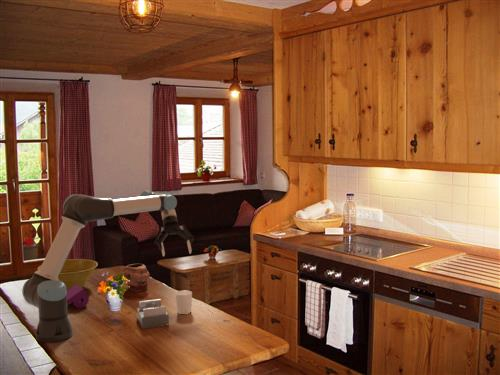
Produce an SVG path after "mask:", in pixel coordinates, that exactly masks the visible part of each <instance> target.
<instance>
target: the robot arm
mask: <svg viewBox="0 0 500 375" xmlns="http://www.w3.org/2000/svg"><path fill="white" fill-rule="evenodd" d="M177 204H178V200H177V198H176V197H175V196H174V195H172V194H171V193H169V192H163V193H160V192H159V193H158V192H153V191H151V190H143V191H142V192H141V194H140V196H135V197H126V198H116V199H115V198H114V199H112V198H111V197H95V196H91V195H88V194H87V195H86V194H83V193H82V194H81V193H78V194H75V193H74V194H72V195H69V196H67V198H65V200H64V202H63V204H62V210H63V213H62V215H61V220H62V223H61V225H60V227H59V229H58V231H57V232H56V235H55V237H54V238H53V239H54V240H53V241H52V243H51V246H50V247H49V248H48V249H49V250H48V251H47V254H46V256H45V258H44V260H43V262H42V264H41V265H42V266H41V265H40V266H41V268H40V270H38V269H37V270H36V271H34V272H33V274H32V277H31V278H28V279H27V280H26V281H25V282H24V284H23V286H22V289H21V290H22V291H21V292H22V294H21V295H22V296H23V298H24V300H25V301H26V302H27V303H28V304H30V305H32V306H34V307H36V308H38V324H37V327H36V331H35V339H36V341H37V342H40V343H57V342H61V341H64V340H67V339H69V338H70V337H72V336H73V332H74V331H73V327H72V324H71V321H70V319H69V314H68V305H67V290H66V286H65V284H64V283H63V282H61V281H59V279H58V275H59V273H60V271H61V269H62V267H63V265H64V262H65V260H67V259H68V256H69V254H70V252H71V249H72V248H73V245H74V243H75V241H76V240H77V237H78V235H79V233H80V231H81V229H83V228H85V227H86V226H87V224H88V222H96V221H102V220H108V219H109V220H110V219H112V218H114V216H120V215H121V216H123V215H130V214H138V213H145V212H146V213H147V212H154V211H160V213H161V219H162V223H163V226H161V225H160V226H158V229H157V230H158V232H157V233H156V234H157V235H156V237H155V239H154V245H157V246H158V250H159V251H161V254H162V257H165V255H166V252H165V247H164V243H163V242H164V240H165V239H166V238H167V237H168V235H169V236H172V235H173V236H174V235H175V236H176V235H177V236H180V237H181V238H182V239H184V241H186V244H187V249H188V252H189V254H192V246H193V242H194V239H195V236H194V235H193V233H191V232H190V230H188V228H187V227H186V225H185V224H184V223H183V224H182V225H179V222H178V217H177V213H176V209H175V208H176V207H177V206H178V205H177ZM163 231H164V233H163V235H162V236H161V234H162V232H163ZM160 236H161V237H160ZM159 238H160V239H159Z"/></svg>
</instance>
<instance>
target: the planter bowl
mask: <svg viewBox="0 0 500 375" xmlns="http://www.w3.org/2000/svg"><path fill="white" fill-rule="evenodd" d="M98 265H99V264H98V262H97V261H95V260H92V259H85V258H74V259H73V258H70V259H68V258H67V259H66V260H65V262H64V265H63V267H62V269H61V271H60V273H59V275H58V279H59V281H61V282H63V283H64V284H65V286H66V290H67V291H68V290H69V289H71V288H72V287H73V286H75V285H78V286H80V287H82V288H84V287H85V286H86V284H87V282H88V281H89V278H90V276H92V275H93V274H94V273H95V270H96V268H97V267H98ZM41 266H42V264H41V265H39V266H38V267H37V271H38V270H40V268H41Z"/></svg>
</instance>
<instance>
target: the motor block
mask: <svg viewBox="0 0 500 375" xmlns="http://www.w3.org/2000/svg"><path fill="white" fill-rule="evenodd" d="M136 311H137V312H136V313H137V317H136V318H137V321H138V323H139V325H140V327H141V328H142V330H143V329H150V328H151V327H152V328H157V327H156V326H159V327H162V326H161V325H166V326H168V325H167V324H169V325H170V317H169V313H168V312H167V307H166V306H165V305H162V299H161V298H158V299H157V298H156V299H149V300H141V301H139V306H138V307H137V309H136ZM152 328H151V329H152Z"/></svg>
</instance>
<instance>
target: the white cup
mask: <svg viewBox="0 0 500 375" xmlns="http://www.w3.org/2000/svg"><path fill="white" fill-rule="evenodd" d="M192 298H193V292H192V291H191V290H183V289H182V290H178V291H176V292H175V304H176V312H178V313H179V314H178V313H177V314H178V315H180V314H187V313H190V312H191V313H192V306H193V305H192V303H193V299H192ZM191 313H190V314H191ZM187 315H188V314H187Z"/></svg>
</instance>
